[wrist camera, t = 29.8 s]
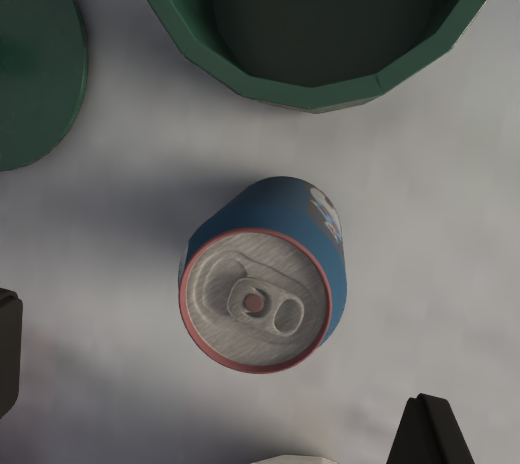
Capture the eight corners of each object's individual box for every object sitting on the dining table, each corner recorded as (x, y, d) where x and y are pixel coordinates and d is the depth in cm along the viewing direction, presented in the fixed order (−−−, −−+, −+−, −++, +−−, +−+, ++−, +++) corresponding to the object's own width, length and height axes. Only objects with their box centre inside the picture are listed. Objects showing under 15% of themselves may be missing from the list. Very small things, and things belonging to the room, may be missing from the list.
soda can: (215, 257, 29) (140, 346, 18) (251, 156, 27) (194, 182, 16) (315, 298, 29) (305, 416, 17) (359, 199, 27) (381, 257, 15)
